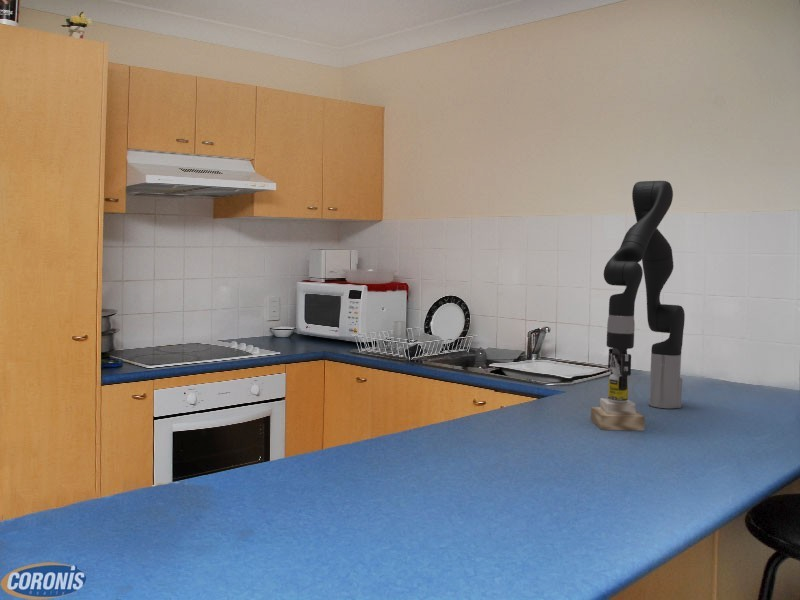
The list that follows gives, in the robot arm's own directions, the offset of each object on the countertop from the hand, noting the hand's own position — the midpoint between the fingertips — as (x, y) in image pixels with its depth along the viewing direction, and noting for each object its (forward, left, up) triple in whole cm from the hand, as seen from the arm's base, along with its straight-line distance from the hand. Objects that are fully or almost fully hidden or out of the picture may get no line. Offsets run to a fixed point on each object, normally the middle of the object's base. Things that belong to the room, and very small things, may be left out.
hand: (618, 387), depth 224 cm
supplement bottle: (0, 0, -4) cm, 4 cm away
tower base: (0, 0, -11) cm, 11 cm away
